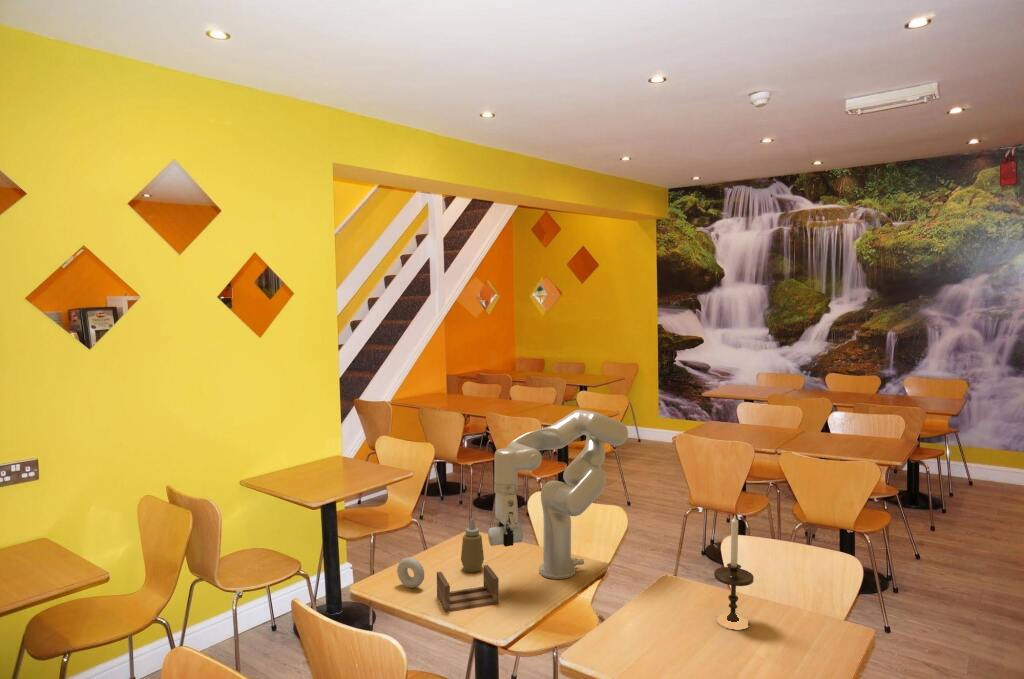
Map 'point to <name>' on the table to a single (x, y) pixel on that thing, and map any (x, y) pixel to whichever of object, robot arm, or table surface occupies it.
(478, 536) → the squeeze bottle
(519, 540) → the roll
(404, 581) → the donut
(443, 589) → the cradle
